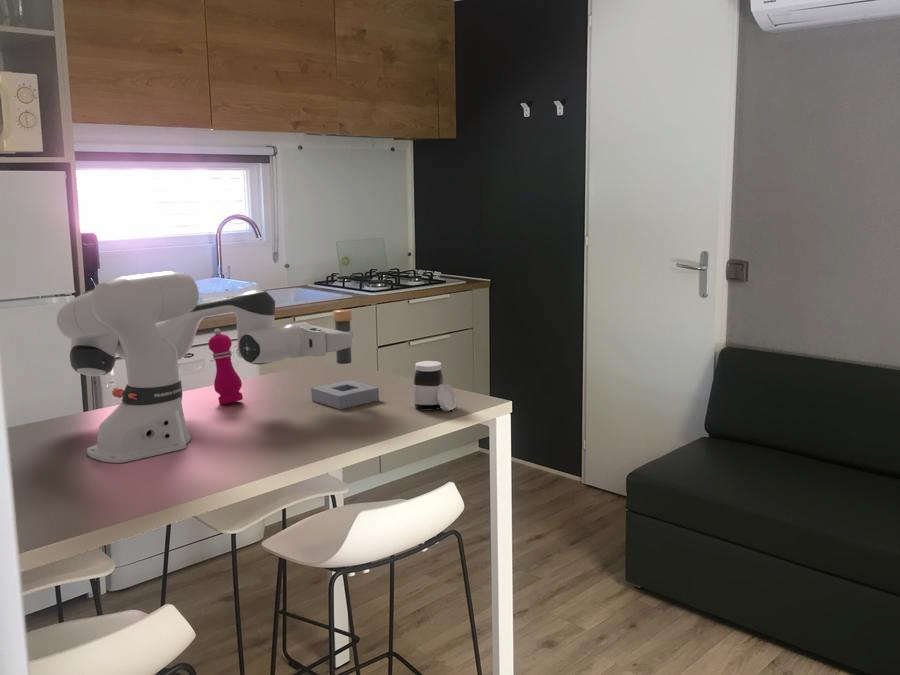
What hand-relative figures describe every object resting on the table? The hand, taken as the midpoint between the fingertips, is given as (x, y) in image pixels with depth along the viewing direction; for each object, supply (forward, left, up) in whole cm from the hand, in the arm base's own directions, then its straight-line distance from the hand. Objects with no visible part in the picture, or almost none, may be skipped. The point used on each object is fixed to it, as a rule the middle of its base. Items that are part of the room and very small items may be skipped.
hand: (345, 332), depth 227 cm
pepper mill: (-21, +23, -18) cm, 36 cm away
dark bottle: (-1, 0, -8) cm, 8 cm away
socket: (-1, 0, -19) cm, 19 cm away
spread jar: (+7, -25, -19) cm, 32 cm away
